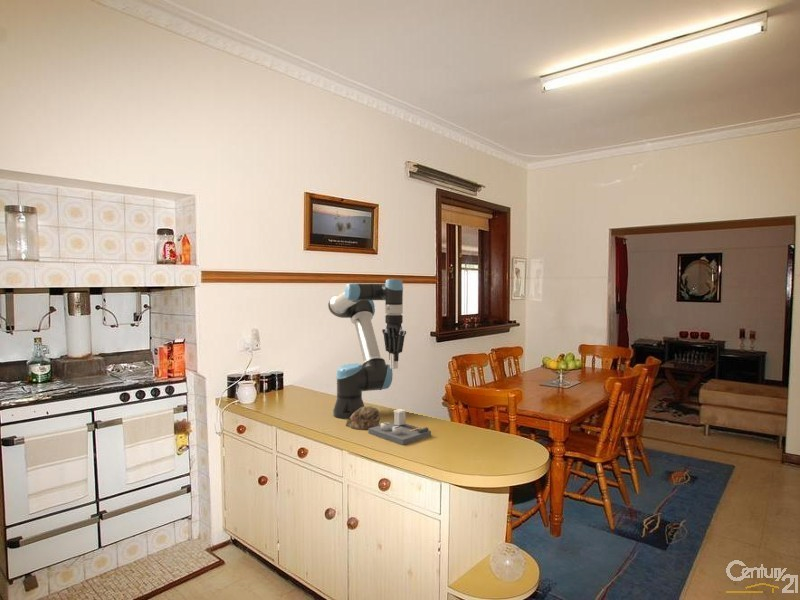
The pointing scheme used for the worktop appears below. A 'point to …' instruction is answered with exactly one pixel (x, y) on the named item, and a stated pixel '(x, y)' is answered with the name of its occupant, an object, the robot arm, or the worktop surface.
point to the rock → (364, 418)
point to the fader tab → (399, 417)
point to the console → (399, 432)
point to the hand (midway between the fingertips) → (393, 368)
